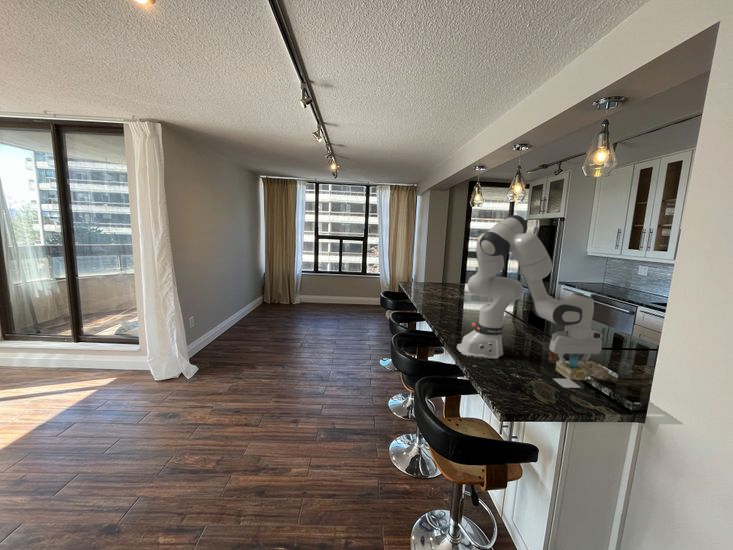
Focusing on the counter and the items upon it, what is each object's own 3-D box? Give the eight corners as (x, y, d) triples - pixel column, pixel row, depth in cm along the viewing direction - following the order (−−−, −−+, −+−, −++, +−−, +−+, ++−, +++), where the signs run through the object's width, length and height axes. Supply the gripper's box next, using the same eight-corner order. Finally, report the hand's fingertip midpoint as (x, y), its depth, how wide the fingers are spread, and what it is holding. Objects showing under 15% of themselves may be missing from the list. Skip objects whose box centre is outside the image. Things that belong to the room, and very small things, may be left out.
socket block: (569, 381, 124) (571, 370, 123) (555, 371, 133) (556, 360, 132) (607, 382, 124) (609, 370, 123) (590, 371, 133) (592, 360, 132)
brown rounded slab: (553, 366, 137) (555, 349, 136) (545, 364, 140) (548, 347, 138) (564, 358, 147) (566, 341, 146) (557, 356, 149) (559, 340, 148)
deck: (563, 389, 118) (563, 387, 118) (552, 380, 125) (552, 378, 125) (581, 389, 118) (581, 387, 118) (568, 380, 125) (569, 378, 125)
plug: (570, 375, 126) (572, 357, 125) (564, 371, 130) (567, 353, 128) (578, 375, 126) (580, 357, 125) (572, 371, 130) (575, 354, 129)
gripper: (557, 334, 122) (553, 365, 124) (606, 334, 122) (601, 366, 125) (548, 328, 128) (544, 359, 130) (594, 329, 129) (590, 359, 131)
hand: (572, 362), depth 127 cm, fingers open, 8 cm apart
